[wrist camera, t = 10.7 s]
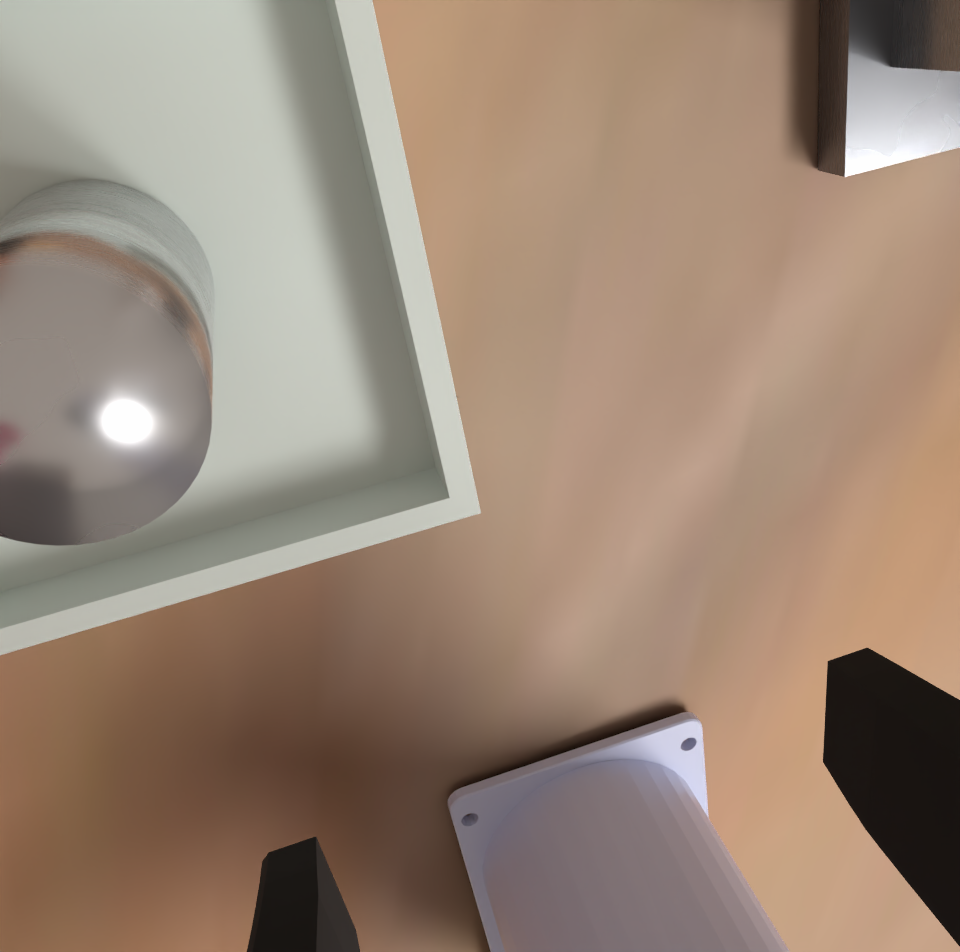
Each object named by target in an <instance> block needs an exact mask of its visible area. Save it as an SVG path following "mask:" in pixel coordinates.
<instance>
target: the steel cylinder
mask: <svg viewBox="0 0 960 952" xmlns="http://www.w3.org/2000/svg"><path fill="white" fill-rule="evenodd" d="M214 305H215V295H214V282H213V276H212V272H211V268H210V265H209V262H208V259H207V257H206V255H205V253H204V250H203V248H202V247H201V245H200V243H199V242H198V240H197V238H196V237H195V235H194V234H193V233H192V231H191V230H190V229H189V228H188V226H187V225H186V224H185V223H184V222H183V221H182V220H181V219H180V218H179V217H178V216H177V215H176V214H175V213H174V212H173V211H171V210H170V209H169V208H167V207H166V206H165V205H164V204H162V203H161V202H159V201H157V200H156V199H154V198H152V197H151V196H149V195H147V194H145V193H143V192H140V191H138V190H136V189H133V188H130V187H127V186H124V185H121V184H117V183H112V182H107V181H98V180H75V181H68V182H63V183H58V184H55V185H52V186H49V187H46V188H43V189H41V190H39V191H37V192H35V193H33V194H31V195H30V196H28V197H27V198H25V199H24V200H22V201H21V202H19V203H18V204H17V205H16V206H15V207H14V208H13V209H12V210H11V211H10V212H9V213H8V214H7V215H6V216H5V217H4V218H3V219H2V220H1V221H0V536H1V537H4V538H8V539H12V540H15V541H20V542H26V543H32V544H40V545H54V546H65V545H82V544H89V543H97V542H101V541H105V540H109V539H113V538H116V537H119V536H122V535H125V534H127V533H130V532H133V531H135V530H137V529H139V528H141V527H143V526H145V525H147V524H149V523H150V522H152V521H153V520H155V519H156V518H158V517H159V516H161V515H162V514H164V513H165V512H166V511H167V510H168V509H170V508H171V507H172V506H173V505H174V504H175V503H176V502H178V500H179V499H180V498H181V497H182V496H183V495H184V494H185V492H186V491H187V490H188V489H189V487H190V486H191V484H192V483H193V481H194V480H195V478H196V477H197V475H198V473H199V471H200V469H201V467H202V464H203V462H204V460H205V457H206V454H207V450H208V447H209V443H210V436H211V428H212V392H213V348H214Z"/></svg>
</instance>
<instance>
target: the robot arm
mask: <svg viewBox="0 0 960 952" xmlns="http://www.w3.org/2000/svg"><path fill="white" fill-rule="evenodd" d="M687 738H688V739H687ZM684 740H685V741H684ZM823 763H824V764H825V766H826V767H827V769H828V771H829V772H830V774H831V776H832V777H833V779H834V780H835V782H836V784H837V785H838V787H839V789H840V790H841V792H842V793H843V795H844V797H845V798H846V800H847V801H848V803H849V805H850V806H851V808H852V809H853V811H854V812H855V814H856V815H857V817H858V818H859V820H860V821H861V823H862V824H863V826H864V828H865V829H866V830H867V832H868V833H869V834H870V836H871V837H872V838H873V839H874V841H875V842H876V843H877V844H878V846H879V847H880V848H881V850H882V851H883V852H884V853H885V855H886V856H887V857H888V858H889V860H890V861H891V862H892V863H893V865H894V866H895V867H896V868H897V870H898V871H899V872H900V873H901V875H902V876H903V877H904V878H905V880H906V881H907V882H908V883H909V885H910V886H911V887H912V888H913V889H914V891H915V892H916V893H917V894H918V896H919V897H920V898H921V899H922V901H923V902H924V903H925V904H926V906H927V907H928V908H929V909H930V910H931V912H932V913H933V914H934V915H935V917H936V918H937V919H938V920H939V922H940V923H941V924H942V925H943V926H944V928H945V929H946V930H947V931H948V933H949V934H950V935H951V936H952V938H953V939H954V940H955V941H956V943H957V944H958V945H959V946H960V700H959V699H957V698H955V697H953V696H951V695H950V694H948V693H946V692H944V691H943V690H941V689H939V688H937V687H936V686H934V685H932V684H930V683H929V682H927V681H925V680H923V679H922V678H920V677H918V676H917V675H915V674H913V673H911V672H910V671H908V670H906V669H904V668H903V667H901V666H899V665H897V664H896V663H894V662H892V661H890V660H889V659H887V658H885V657H883V656H882V655H880V654H878V653H876V652H874V651H873V650H871V649H869V648H865V649H862V650H859V651H856V652H853V653H850V654H848V655H845V656H842V657H839V658H836V659H833V660H830V661H828V669H827V690H826V711H825V732H824V753H823ZM448 807H449V811H450V814H451V818H452V821H453V825H454V828H455V831H456V835H457V838H458V842H459V845H460V848H461V852H462V855H463V859H464V862H465V866H466V869H467V872H468V876H469V879H470V883H471V886H472V889H473V893H474V896H475V900H476V903H477V907H478V910H479V913H480V917H481V920H482V924H483V927H484V930H485V934H486V937H487V941H488V944H489V948H490V951H491V952H790V951H789V950H788V948H787V946H786V945H785V943H784V941H783V940H782V938H781V936H780V935H779V933H778V932H777V930H776V928H775V927H774V925H773V923H772V922H771V920H770V918H769V917H768V915H767V913H766V912H765V910H764V909H763V907H762V905H761V904H760V902H759V900H758V899H757V897H756V895H755V894H754V892H753V890H752V889H751V887H750V886H749V884H748V882H747V881H746V879H745V877H744V876H743V874H742V872H741V871H740V869H739V867H738V866H737V864H736V863H735V861H734V859H733V858H732V856H731V854H730V853H729V851H728V849H727V848H726V846H725V845H724V843H723V841H722V840H721V838H720V836H719V835H718V833H717V831H716V830H715V828H714V826H713V825H712V823H711V822H710V820H709V816H708V802H707V788H706V774H705V760H704V746H703V732H702V725H701V722H700V721H699V719H698V718H697V716H696V715H695V714H693V713H691V712H684V713H680V714H677V715H674V716H671V717H668V718H665V719H662V720H659V721H656V722H653V723H650V724H647V725H644V726H641V727H638V728H635V729H632V730H629V731H627V732H624V733H621V734H618V735H615V736H612V737H609V738H606V739H603V740H600V741H597V742H594V743H591V744H588V745H585V746H582V747H579V748H576V749H574V750H571V751H568V752H565V753H562V754H559V755H556V756H553V757H550V758H547V759H544V760H541V761H538V762H535V763H532V764H529V765H526V766H523V767H521V768H518V769H515V770H512V771H509V772H506V773H503V774H500V775H497V776H494V777H491V778H488V779H485V780H482V781H479V782H476V783H473V784H470V785H468V786H465V787H462V788H459V789H457V790H455V791H454V792H453V793H452V794H451V795H450V797H449V799H448ZM470 813H472V814H470ZM467 814H470V815H467ZM465 815H467V816H465ZM247 952H360V949H359V944H358V939H357V933H356V929H355V927H354V925H353V922H352V920H351V918H350V915H349V913H348V910H347V908H346V906H345V903H344V901H343V899H342V896H341V894H340V892H339V889H338V887H337V885H336V882H335V880H334V878H333V875H332V873H331V871H330V868H329V866H328V863H327V861H326V859H325V856H324V854H323V852H322V849H321V847H320V845H319V842H318V840H317V838H316V837H313V838H310V839H307V840H304V841H301V842H298V843H296V844H293V845H290V846H287V847H284V848H281V849H278V850H275V851H272V852H269V853H268V854H267V856H266V857H265V859H264V860H263V861H262V869H261V877H260V884H259V890H258V896H257V902H256V908H255V914H254V919H253V925H252V930H251V935H250V940H249V944H248V949H247Z"/></svg>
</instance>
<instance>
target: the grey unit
mask: <svg viewBox="0 0 960 952" xmlns="http://www.w3.org/2000/svg"><path fill="white" fill-rule="evenodd" d="M959 147H960V0H820V54H819V122H818V170H819V171H823V172H827V173H831V174H835V175H839V176H843V177H846V176H850V175H854V174H858V173H861V172H865V171H869V170H873V169H877V168H881V167H885V166H889V165H893V164H897V163H901V162H904V161H908V160H912V159H916V158H920V157H924V156H928V155H932V154H936V153H940V152H944V151H947V150H951V149H955V148H959Z"/></svg>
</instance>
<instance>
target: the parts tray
mask: <svg viewBox="0 0 960 952" xmlns="http://www.w3.org/2000/svg"><path fill="white" fill-rule="evenodd" d="M75 180H98V181H107V182H112V183H117V184H121V185H124V186H127V187H130V188H133V189H136V190H138V191H140V192H143V193H145V194H147V195H149V196H151V197H152V198H154V199H156V200H157V201H159V202H161V203H162V204H164V205H165V206H166V207H167V208H169V209H170V210H171V211H173V212H174V213H175V214H176V215H177V216H178V217H179V218H180V219H181V220H182V221H183V222H184V223H185V224H186V225H187V226H188V228H189V229H190V230H191V231H192V233H193V234H194V235H195V237H196V238H197V240H198V242H199V243H200V245H201V247H202V248H203V250H204V253H205V255H206V257H207V259H208V262H209V265H210V268H211V272H212V276H213V282H214V295H215V305H214V348H213V392H212V428H211V436H210V443H209V447H208V450H207V454H206V457H205V460H204V462H203V464H202V467H201V469H200V471H199V473H198V475H197V477H196V478H195V480H194V481H193V483H192V484H191V486H190V487H189V489H188V490H187V491H186V492H185V494H184V495H183V496H182V497H181V498H180V499H179V500H178V502H176V503H175V504H174V505H173V506H172V507H171V508H170V509H168V510H167V511H166V512H165V513H164V514H162V515H161V516H159V517H158V518H156V519H155V520H153V521H152V522H150V523H149V524H147V525H145V526H143V527H141V528H139V529H137V530H135V531H133V532H130V533H127V534H125V535H122V536H119V537H116V538H113V539H109V540H105V541H101V542H97V543H89V544H82V545H65V546H54V545H40V544H32V543H26V542H20V541H15V540H12V539H8V538H4V537H1V536H0V655H3V654H6V653H10V652H13V651H16V650H20V649H23V648H27V647H30V646H33V645H37V644H40V643H43V642H47V641H50V640H54V639H57V638H60V637H64V636H67V635H70V634H74V633H77V632H81V631H84V630H87V629H91V628H94V627H98V626H101V625H104V624H108V623H111V622H114V621H118V620H121V619H125V618H128V617H131V616H135V615H138V614H141V613H145V612H148V611H152V610H155V609H158V608H162V607H165V606H169V605H172V604H175V603H179V602H182V601H185V600H189V599H192V598H196V597H199V596H202V595H206V594H209V593H212V592H216V591H219V590H223V589H226V588H229V587H233V586H236V585H239V584H243V583H246V582H250V581H253V580H256V579H260V578H263V577H267V576H270V575H273V574H277V573H280V572H283V571H287V570H290V569H294V568H297V567H300V566H304V565H307V564H310V563H314V562H317V561H321V560H324V559H327V558H331V557H334V556H338V555H341V554H344V553H348V552H351V551H354V550H358V549H361V548H365V547H368V546H371V545H375V544H378V543H381V542H385V541H388V540H392V539H395V538H398V537H402V536H405V535H409V534H412V533H415V532H419V531H422V530H425V529H429V528H432V527H436V526H439V525H442V524H446V523H449V522H452V521H456V520H459V519H463V518H466V517H469V516H473V515H476V514H480V513H481V511H480V507H479V502H478V497H477V492H476V488H475V483H474V478H473V473H472V469H471V464H470V459H469V455H468V450H467V445H466V440H465V436H464V431H463V426H462V422H461V417H460V412H459V407H458V403H457V398H456V393H455V389H454V384H453V379H452V374H451V370H450V365H449V360H448V355H447V351H446V346H445V341H444V337H443V332H442V327H441V322H440V318H439V313H438V308H437V304H436V299H435V294H434V289H433V285H432V280H431V275H430V270H429V266H428V261H427V256H426V252H425V247H424V242H423V237H422V233H421V228H420V223H419V219H418V214H417V209H416V204H415V200H414V195H413V190H412V186H411V181H410V176H409V171H408V167H407V162H406V157H405V152H404V148H403V143H402V138H401V134H400V129H399V124H398V119H397V115H396V110H395V105H394V101H393V96H392V91H391V86H390V82H389V77H388V72H387V68H386V63H385V58H384V53H383V49H382V44H381V39H380V34H379V30H378V25H377V20H376V16H375V11H374V6H373V1H372V0H0V221H1V220H2V219H3V218H4V217H5V216H6V215H7V214H8V213H9V212H10V211H11V210H12V209H13V208H14V207H15V206H16V205H17V204H18V203H19V202H21V201H22V200H24V199H25V198H27V197H28V196H30V195H31V194H33V193H35V192H37V191H39V190H41V189H43V188H46V187H49V186H52V185H55V184H58V183H63V182H68V181H75Z"/></svg>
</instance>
